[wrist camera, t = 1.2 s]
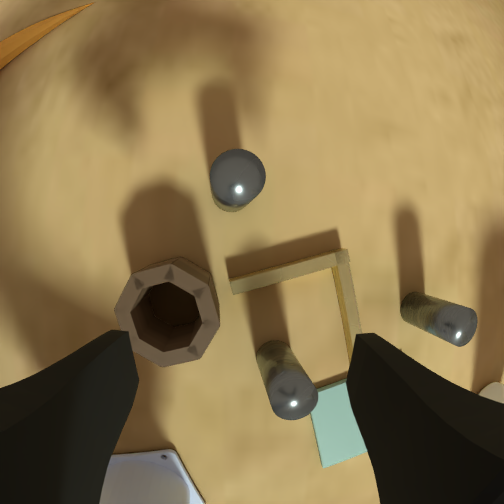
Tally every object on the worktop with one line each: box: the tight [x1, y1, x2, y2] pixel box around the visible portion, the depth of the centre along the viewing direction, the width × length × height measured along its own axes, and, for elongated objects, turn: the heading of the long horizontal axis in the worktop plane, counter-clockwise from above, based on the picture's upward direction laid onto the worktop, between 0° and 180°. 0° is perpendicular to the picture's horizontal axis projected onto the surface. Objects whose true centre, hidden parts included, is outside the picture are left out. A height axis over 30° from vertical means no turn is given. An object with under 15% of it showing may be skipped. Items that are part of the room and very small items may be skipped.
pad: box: [310, 378, 367, 468], centre depth 21 cm, size 8×8×1 cm
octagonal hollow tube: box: [114, 257, 220, 367], centre depth 17 cm, size 5×5×4 cm
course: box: [210, 149, 477, 420], centre depth 17 cm, size 14×15×6 cm
